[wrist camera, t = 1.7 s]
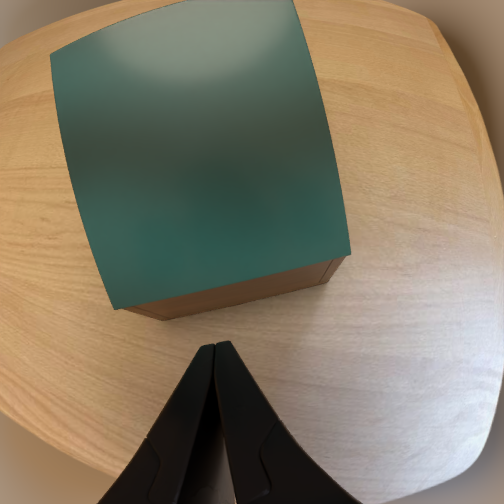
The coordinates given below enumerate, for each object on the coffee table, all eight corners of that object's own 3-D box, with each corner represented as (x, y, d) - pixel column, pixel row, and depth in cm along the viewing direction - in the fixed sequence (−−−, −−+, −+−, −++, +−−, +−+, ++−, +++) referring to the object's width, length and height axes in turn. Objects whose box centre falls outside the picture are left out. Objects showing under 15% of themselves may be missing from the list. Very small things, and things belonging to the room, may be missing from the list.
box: (144, 170, 27) (113, 124, 20) (280, 135, 27) (279, 79, 20) (161, 321, 23) (119, 308, 16) (327, 282, 22) (347, 255, 16)
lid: (56, 57, 12) (49, 53, 11) (284, -10, 12) (287, -17, 11) (118, 304, 16) (113, 310, 15) (346, 250, 16) (352, 255, 15)
